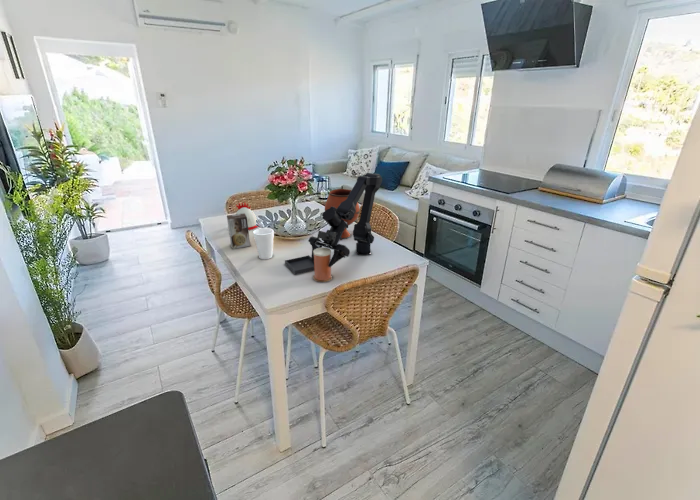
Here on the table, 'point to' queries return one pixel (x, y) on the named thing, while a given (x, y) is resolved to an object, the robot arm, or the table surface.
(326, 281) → the coaster
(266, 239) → the foam cup
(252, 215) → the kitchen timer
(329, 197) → the terracotta vase
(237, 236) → the coffee box
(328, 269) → the canister
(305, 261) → the tray
